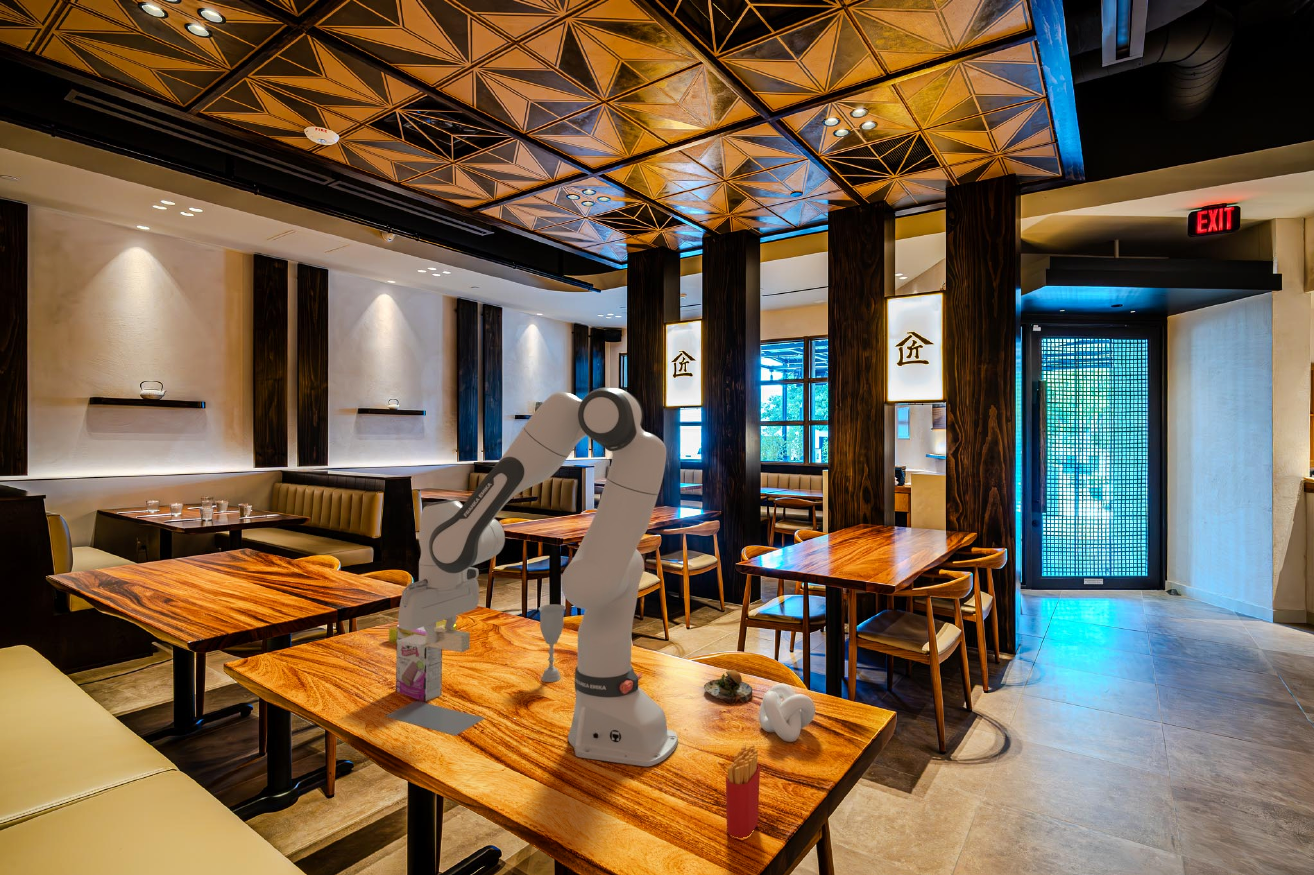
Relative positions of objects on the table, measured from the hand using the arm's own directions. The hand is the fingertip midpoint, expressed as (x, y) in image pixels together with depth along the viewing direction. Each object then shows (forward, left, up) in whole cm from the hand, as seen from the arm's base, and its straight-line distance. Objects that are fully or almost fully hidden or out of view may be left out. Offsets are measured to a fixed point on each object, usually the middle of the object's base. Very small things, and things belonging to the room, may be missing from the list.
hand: (440, 640), depth 133 cm
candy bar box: (+14, -8, -18) cm, 24 cm away
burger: (-51, -43, -18) cm, 69 cm away
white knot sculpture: (-68, -28, -18) cm, 75 cm away
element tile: (+46, -41, -18) cm, 64 cm away
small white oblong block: (+2, 0, -1) cm, 2 cm away
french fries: (-70, +7, -18) cm, 72 cm away
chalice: (-7, -32, -18) cm, 37 cm away
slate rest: (+1, 0, -18) cm, 18 cm away
